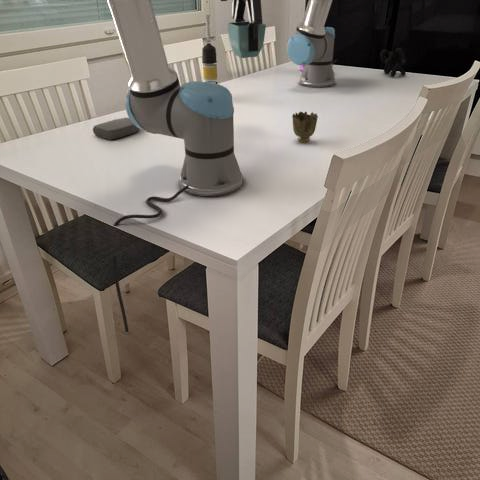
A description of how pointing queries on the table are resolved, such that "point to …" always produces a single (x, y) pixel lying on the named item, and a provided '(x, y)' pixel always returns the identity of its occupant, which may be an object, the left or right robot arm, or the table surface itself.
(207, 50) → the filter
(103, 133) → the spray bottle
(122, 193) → the table surface
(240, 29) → the teal square planter
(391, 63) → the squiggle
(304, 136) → the cup
